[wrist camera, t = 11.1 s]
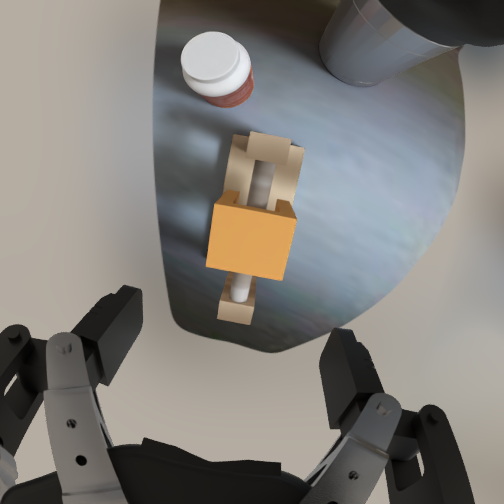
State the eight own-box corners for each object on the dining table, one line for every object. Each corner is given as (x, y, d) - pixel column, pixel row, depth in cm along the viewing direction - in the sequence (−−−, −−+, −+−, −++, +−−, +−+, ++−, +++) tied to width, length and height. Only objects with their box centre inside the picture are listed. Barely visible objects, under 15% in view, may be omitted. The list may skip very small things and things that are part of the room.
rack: (234, 134, 29) (216, 125, 18) (303, 148, 29) (325, 147, 18) (213, 260, 35) (190, 312, 24) (274, 273, 35) (277, 329, 24)
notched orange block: (227, 189, 26) (214, 203, 19) (289, 201, 26) (297, 219, 19) (220, 238, 28) (205, 266, 21) (278, 249, 28) (281, 280, 21)
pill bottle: (265, 86, 27) (265, 56, 17) (225, 119, 29) (204, 104, 18) (231, 52, 25) (214, 12, 15) (191, 84, 27) (157, 58, 17)
